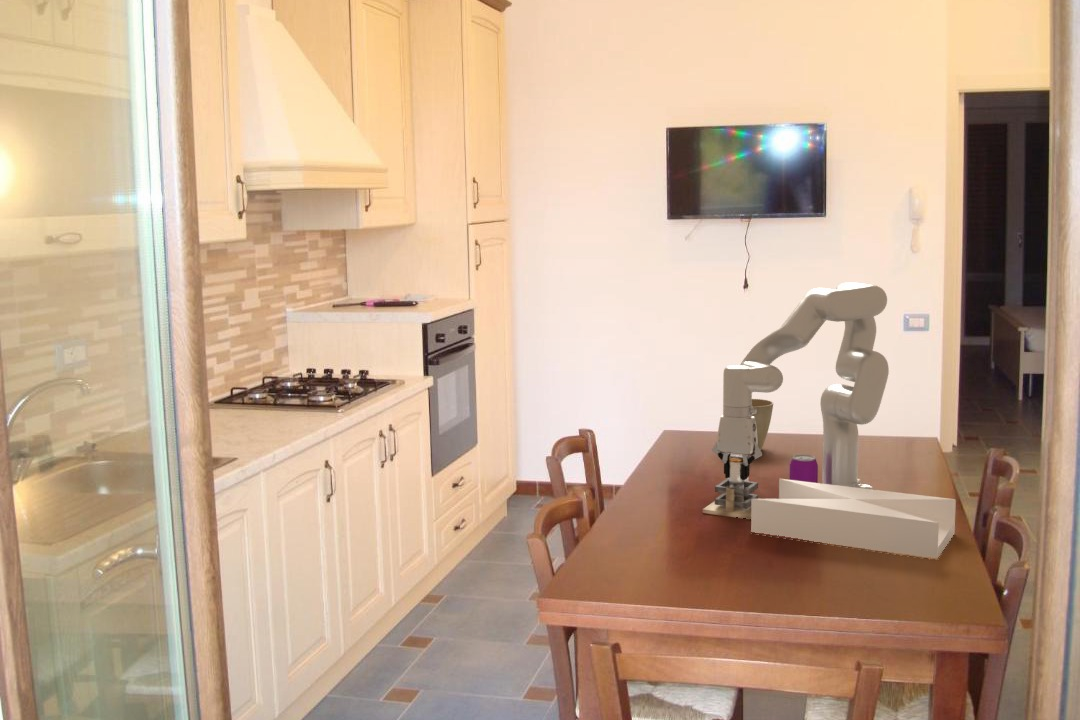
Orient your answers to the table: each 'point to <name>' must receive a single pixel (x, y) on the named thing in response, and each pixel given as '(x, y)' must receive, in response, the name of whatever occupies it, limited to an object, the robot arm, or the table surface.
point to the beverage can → (804, 468)
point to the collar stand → (732, 500)
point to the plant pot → (762, 418)
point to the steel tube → (736, 475)
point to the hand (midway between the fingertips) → (736, 477)
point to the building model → (857, 517)
